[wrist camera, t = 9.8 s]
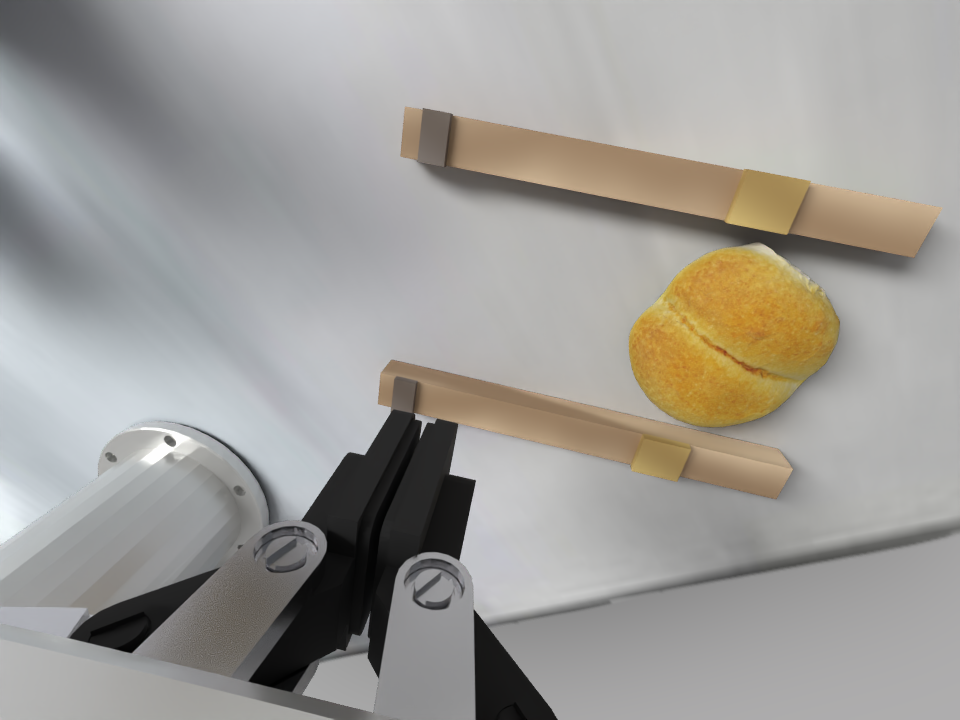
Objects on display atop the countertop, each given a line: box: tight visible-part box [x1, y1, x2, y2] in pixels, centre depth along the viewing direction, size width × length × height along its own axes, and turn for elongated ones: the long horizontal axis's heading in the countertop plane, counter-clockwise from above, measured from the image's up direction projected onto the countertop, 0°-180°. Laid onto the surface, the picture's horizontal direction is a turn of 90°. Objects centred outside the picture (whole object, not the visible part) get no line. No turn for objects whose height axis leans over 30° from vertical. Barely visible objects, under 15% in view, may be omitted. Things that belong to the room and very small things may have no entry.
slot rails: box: [378, 107, 942, 499], centre depth 23 cm, size 15×22×2 cm
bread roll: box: [629, 242, 840, 427], centre depth 22 cm, size 8×9×4 cm
